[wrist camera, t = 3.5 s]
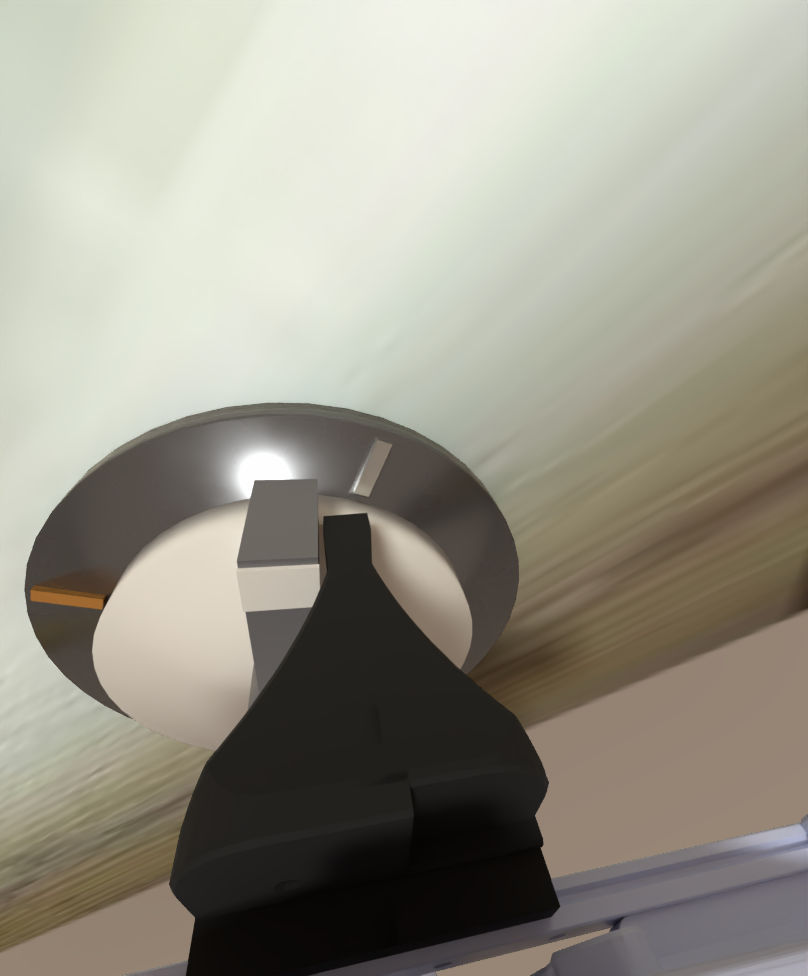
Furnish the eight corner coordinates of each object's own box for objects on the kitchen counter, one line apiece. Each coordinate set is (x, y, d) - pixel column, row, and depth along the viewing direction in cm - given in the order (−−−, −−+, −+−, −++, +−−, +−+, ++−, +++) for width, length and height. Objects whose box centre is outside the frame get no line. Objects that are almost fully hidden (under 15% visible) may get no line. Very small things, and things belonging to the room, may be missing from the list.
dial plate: (408, 730, 25) (412, 752, 24) (39, 712, 19) (24, 741, 18) (593, 487, 17) (610, 505, 16) (42, 305, 10) (14, 317, 9)
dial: (438, 702, 22) (464, 809, 18) (157, 736, 19) (119, 868, 15) (499, 450, 14) (569, 547, 10) (31, 451, 11) (-113, 582, 7)
